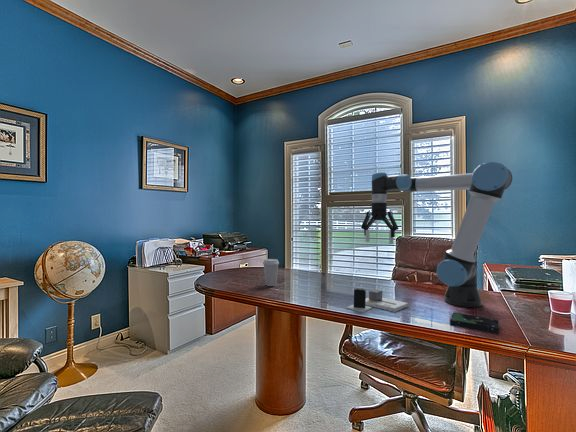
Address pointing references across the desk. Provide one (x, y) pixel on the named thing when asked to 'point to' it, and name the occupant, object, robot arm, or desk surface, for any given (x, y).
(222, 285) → the desk surface
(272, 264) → the coffee cup
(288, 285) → the desk surface
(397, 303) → the switch panel
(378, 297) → the switch tab
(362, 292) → the ink cartridge
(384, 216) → the robot arm
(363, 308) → the mat
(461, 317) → the disk drive
